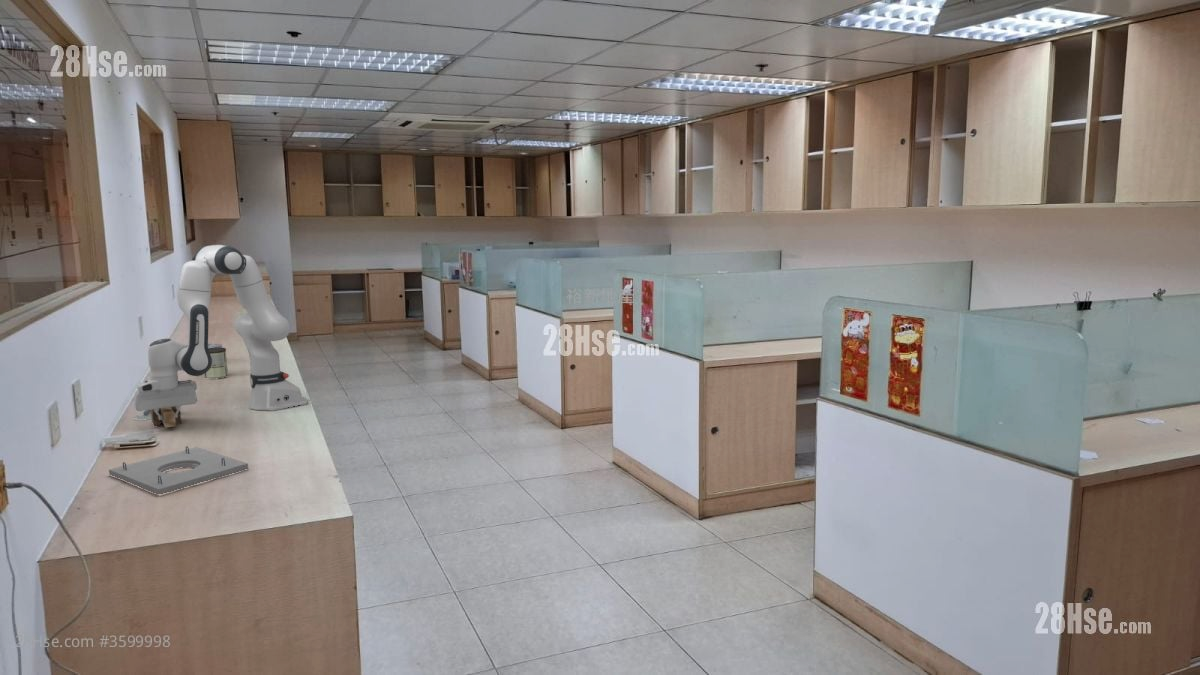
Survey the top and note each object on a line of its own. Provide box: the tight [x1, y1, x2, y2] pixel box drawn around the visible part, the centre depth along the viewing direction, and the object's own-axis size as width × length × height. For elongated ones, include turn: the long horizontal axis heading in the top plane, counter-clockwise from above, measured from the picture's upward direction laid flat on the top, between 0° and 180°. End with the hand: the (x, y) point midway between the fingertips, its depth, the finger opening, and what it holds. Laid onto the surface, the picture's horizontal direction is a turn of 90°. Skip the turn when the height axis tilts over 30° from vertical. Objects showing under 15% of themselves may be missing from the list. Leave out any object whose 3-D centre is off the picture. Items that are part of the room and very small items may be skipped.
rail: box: [160, 407, 177, 429], centre depth 280 cm, size 3×13×6 cm, turn 36°
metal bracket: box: [132, 410, 152, 420], centre depth 295 cm, size 14×6×15 cm
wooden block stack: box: [151, 407, 182, 427], centre depth 285 cm, size 9×8×12 cm
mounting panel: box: [108, 446, 249, 494], centre depth 230 cm, size 27×5×30 cm
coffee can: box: [204, 347, 229, 380], centre depth 364 cm, size 10×10×14 cm
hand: (168, 418), depth 280 cm, fingers closed on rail, 3 cm apart
